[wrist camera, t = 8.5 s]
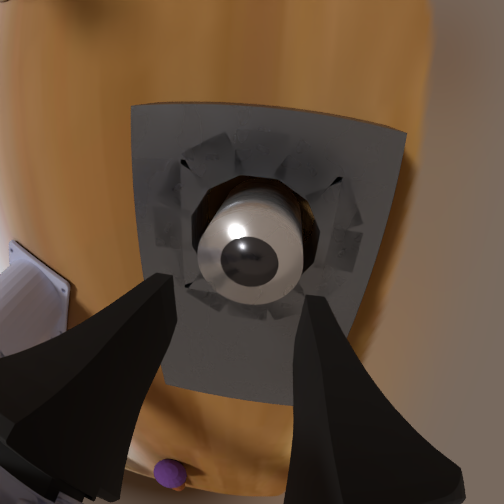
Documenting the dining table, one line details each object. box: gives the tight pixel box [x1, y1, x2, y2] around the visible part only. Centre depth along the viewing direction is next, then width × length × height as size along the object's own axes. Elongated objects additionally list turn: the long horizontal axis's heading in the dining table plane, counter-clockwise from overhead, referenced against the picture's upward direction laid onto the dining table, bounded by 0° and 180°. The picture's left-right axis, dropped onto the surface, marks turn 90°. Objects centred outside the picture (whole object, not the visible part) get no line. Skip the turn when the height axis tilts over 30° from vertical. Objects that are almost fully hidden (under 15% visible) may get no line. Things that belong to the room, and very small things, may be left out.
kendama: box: [154, 459, 187, 491], centre depth 44 cm, size 6×6×20 cm
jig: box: [131, 102, 407, 406], centre depth 17 cm, size 20×12×3 cm, turn 176°
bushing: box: [197, 178, 303, 305], centre depth 14 cm, size 4×4×5 cm
